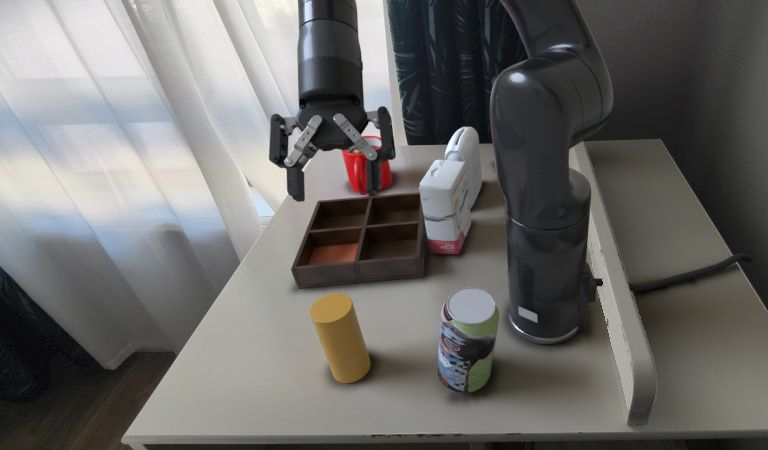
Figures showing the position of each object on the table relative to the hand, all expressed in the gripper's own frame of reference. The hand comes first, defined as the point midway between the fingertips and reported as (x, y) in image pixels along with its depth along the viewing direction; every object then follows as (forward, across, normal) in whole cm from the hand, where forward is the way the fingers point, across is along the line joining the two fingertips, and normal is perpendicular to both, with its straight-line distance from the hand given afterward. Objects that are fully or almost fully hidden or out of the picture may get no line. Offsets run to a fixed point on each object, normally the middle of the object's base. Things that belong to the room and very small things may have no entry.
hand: (335, 197), depth 58 cm
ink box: (+3, +12, +21) cm, 24 cm away
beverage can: (+22, +14, +2) cm, 26 cm away
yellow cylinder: (+20, 0, +4) cm, 20 cm away
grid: (+3, -1, +21) cm, 21 cm away
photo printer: (-5, +15, +29) cm, 33 cm away
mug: (-10, -3, +34) cm, 35 cm away
